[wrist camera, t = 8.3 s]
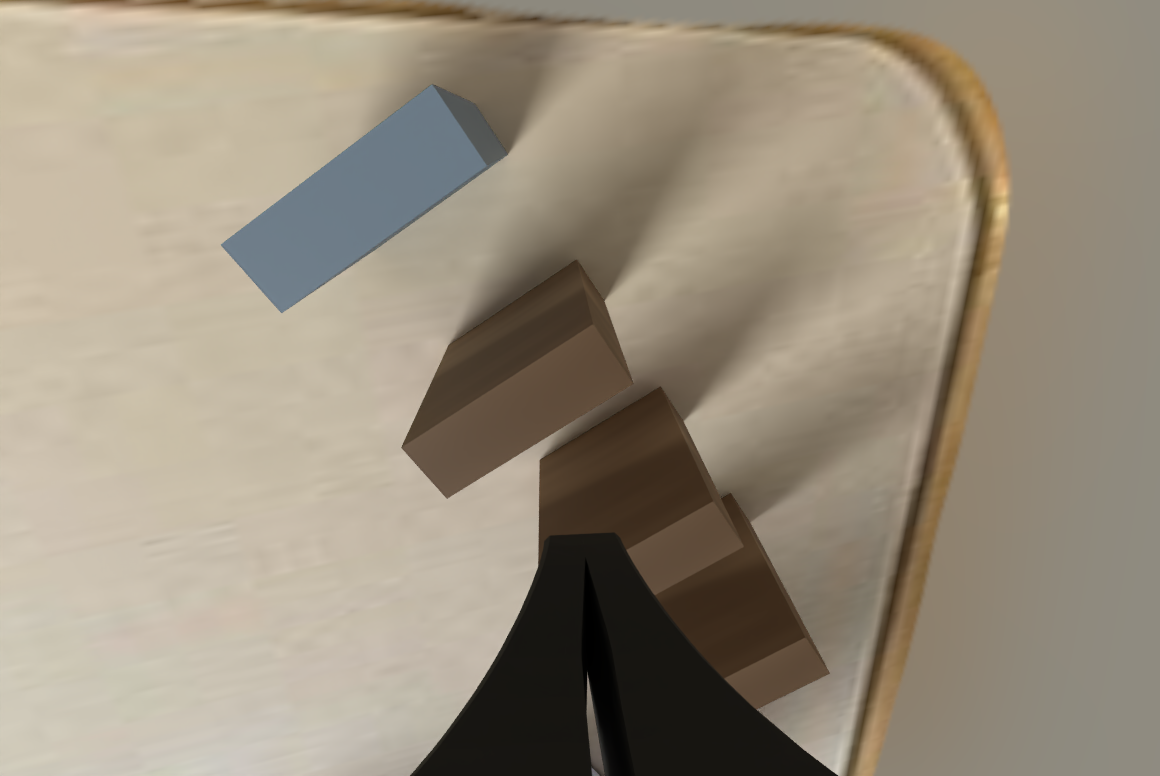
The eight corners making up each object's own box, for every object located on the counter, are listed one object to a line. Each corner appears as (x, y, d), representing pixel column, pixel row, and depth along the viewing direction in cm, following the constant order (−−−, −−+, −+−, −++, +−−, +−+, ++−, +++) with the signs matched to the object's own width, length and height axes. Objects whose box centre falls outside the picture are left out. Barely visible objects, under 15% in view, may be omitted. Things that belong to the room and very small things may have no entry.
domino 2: (683, 421, 21) (744, 546, 15) (564, 491, 22) (573, 639, 16) (660, 386, 21) (713, 501, 14) (539, 460, 22) (537, 599, 15)
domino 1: (604, 301, 19) (633, 383, 13) (478, 382, 20) (447, 498, 14) (576, 259, 19) (592, 323, 12) (448, 345, 20) (401, 447, 13)
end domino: (508, 154, 18) (486, 165, 11) (373, 250, 18) (281, 313, 12) (474, 103, 17) (432, 83, 11) (337, 205, 18) (220, 244, 11)
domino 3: (750, 522, 23) (829, 672, 17) (638, 583, 24) (672, 750, 17) (730, 493, 22) (805, 637, 16) (616, 557, 23) (644, 718, 17)
